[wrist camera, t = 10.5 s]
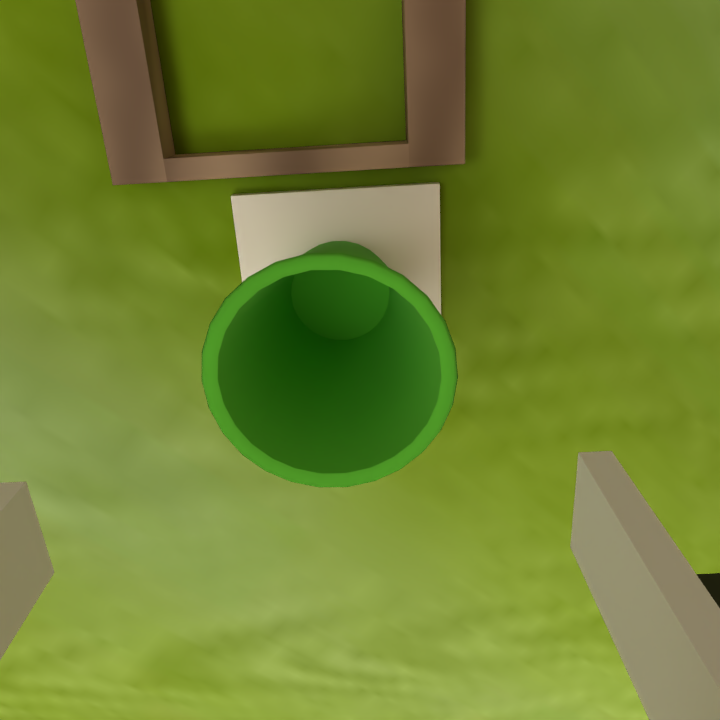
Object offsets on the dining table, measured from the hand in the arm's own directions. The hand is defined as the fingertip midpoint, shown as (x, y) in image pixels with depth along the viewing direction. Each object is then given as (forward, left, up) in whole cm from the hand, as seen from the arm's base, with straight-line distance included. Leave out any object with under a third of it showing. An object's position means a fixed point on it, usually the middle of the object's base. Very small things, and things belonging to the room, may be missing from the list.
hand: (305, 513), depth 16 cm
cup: (0, 0, -19) cm, 19 cm away
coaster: (0, 0, -19) cm, 19 cm away
